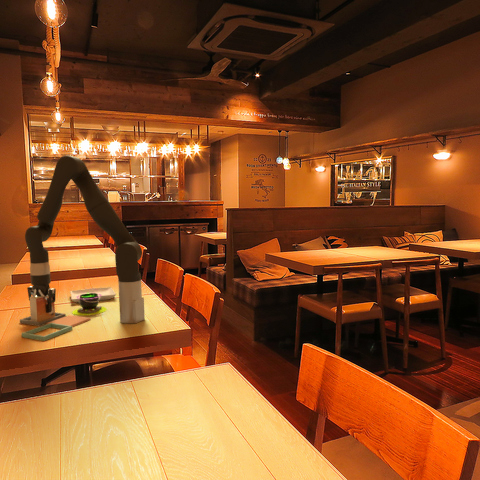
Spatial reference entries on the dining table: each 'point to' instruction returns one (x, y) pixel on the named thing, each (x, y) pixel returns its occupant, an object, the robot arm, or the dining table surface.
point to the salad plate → (105, 292)
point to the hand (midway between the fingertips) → (42, 311)
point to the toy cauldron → (89, 304)
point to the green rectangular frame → (63, 329)
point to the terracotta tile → (70, 320)
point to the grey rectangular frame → (27, 321)
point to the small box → (40, 309)
